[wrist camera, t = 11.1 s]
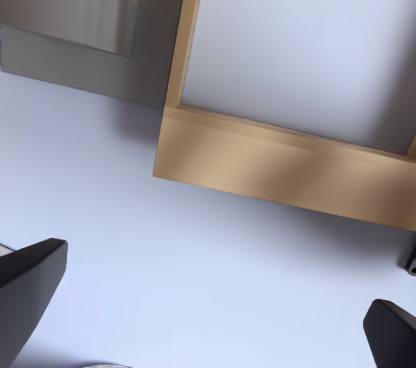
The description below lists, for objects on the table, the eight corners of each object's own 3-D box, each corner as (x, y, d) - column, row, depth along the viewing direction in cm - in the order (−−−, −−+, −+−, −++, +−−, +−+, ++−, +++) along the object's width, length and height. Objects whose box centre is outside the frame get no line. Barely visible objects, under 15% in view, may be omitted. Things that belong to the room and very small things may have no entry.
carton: (559, -157, 15) (656, -222, 12) (389, 210, 22) (421, 232, 19) (238, -267, 14) (248, -375, 11) (160, 161, 21) (152, 176, 17)
